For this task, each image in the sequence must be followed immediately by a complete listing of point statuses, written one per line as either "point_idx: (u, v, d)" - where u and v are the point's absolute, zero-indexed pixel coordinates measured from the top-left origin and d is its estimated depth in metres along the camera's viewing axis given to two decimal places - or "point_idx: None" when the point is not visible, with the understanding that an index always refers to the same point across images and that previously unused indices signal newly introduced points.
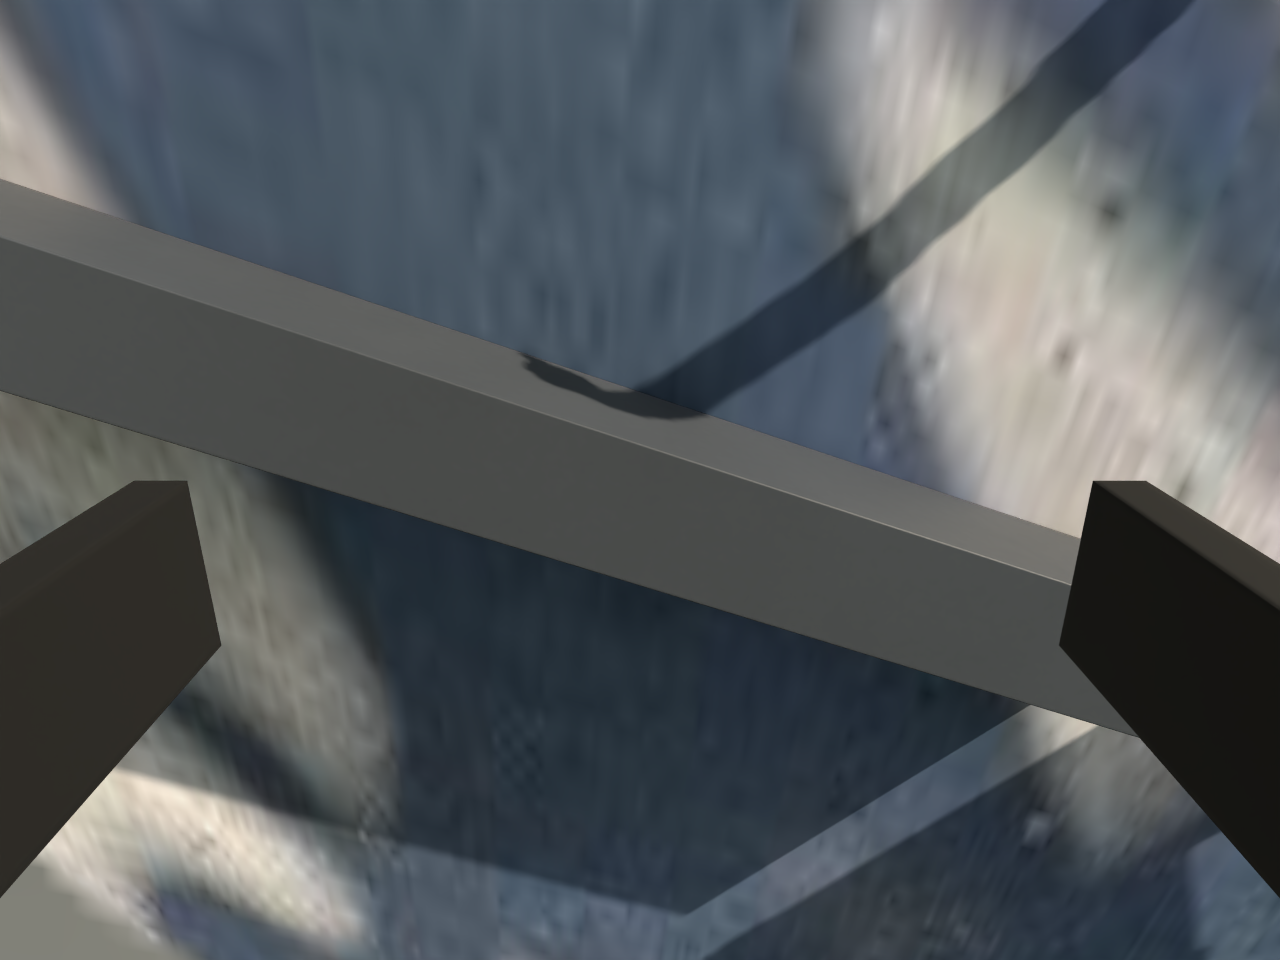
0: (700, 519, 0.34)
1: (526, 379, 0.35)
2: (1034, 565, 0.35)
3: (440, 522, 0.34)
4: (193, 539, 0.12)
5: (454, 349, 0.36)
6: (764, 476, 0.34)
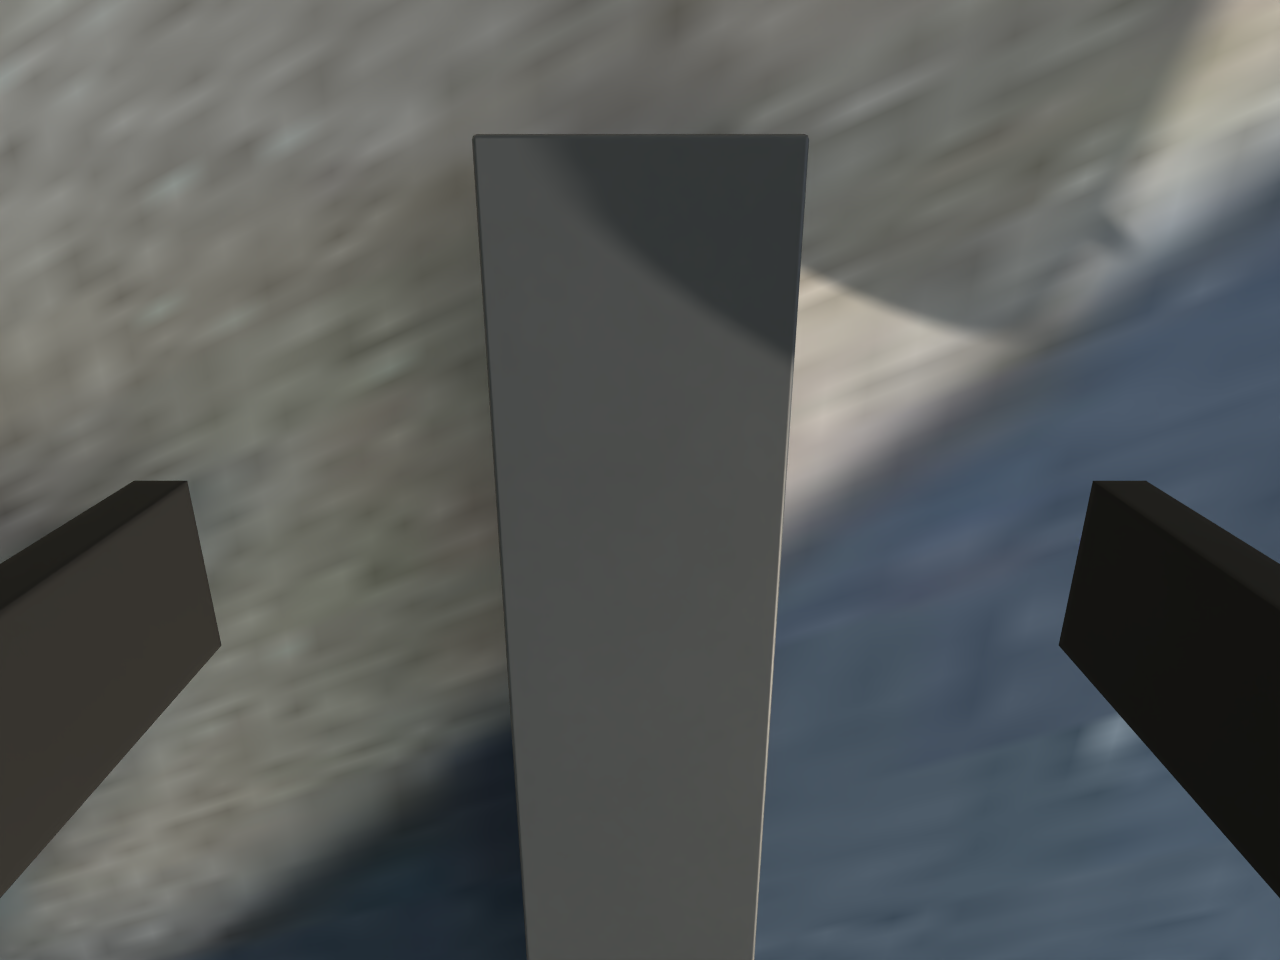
0: None
1: None
2: None
3: None
4: (192, 539, 0.12)
5: None
6: None
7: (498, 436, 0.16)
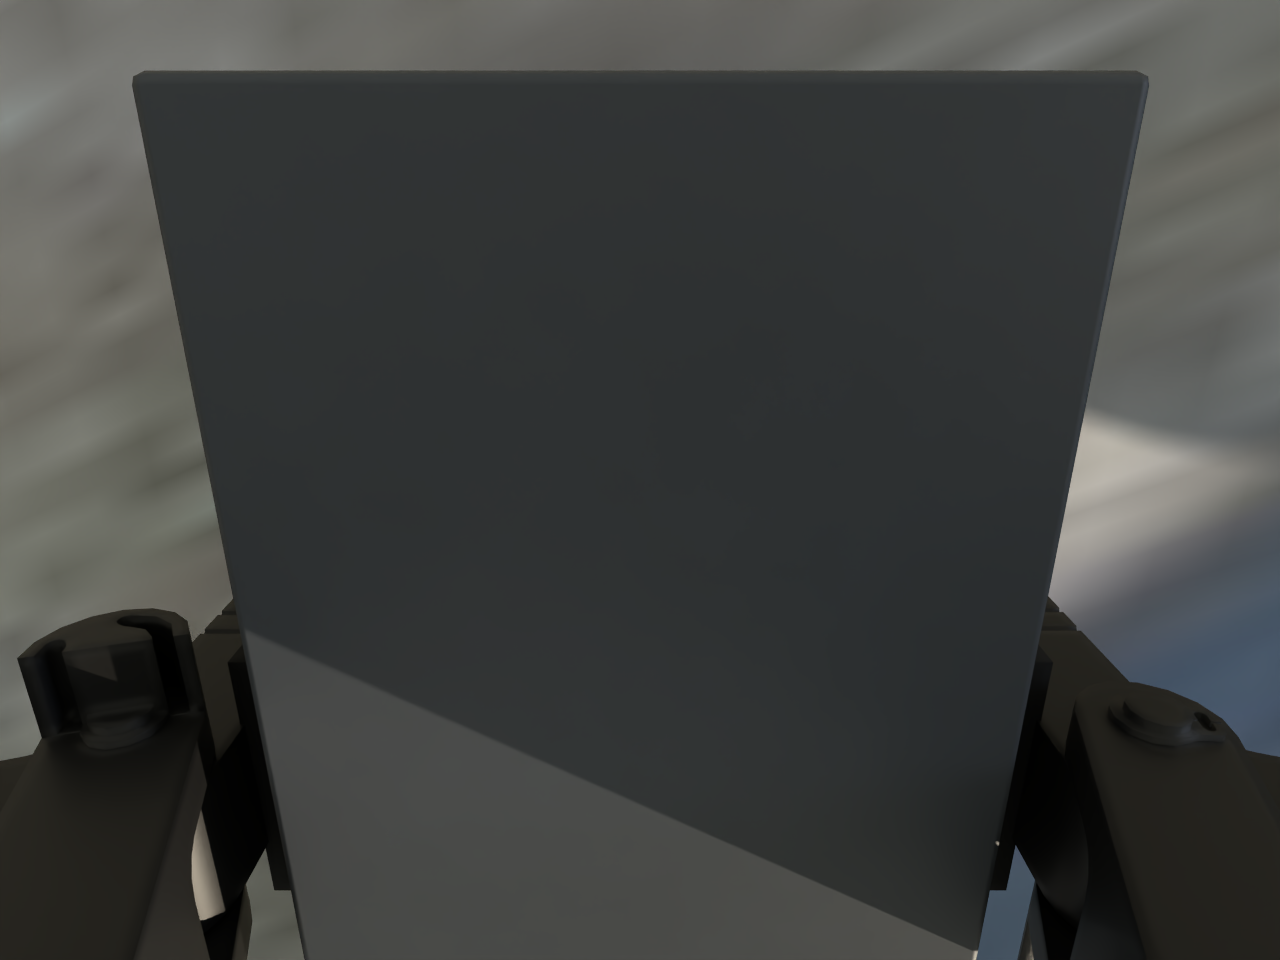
0: None
1: None
2: None
3: None
4: None
5: None
6: None
7: (291, 829, 0.07)
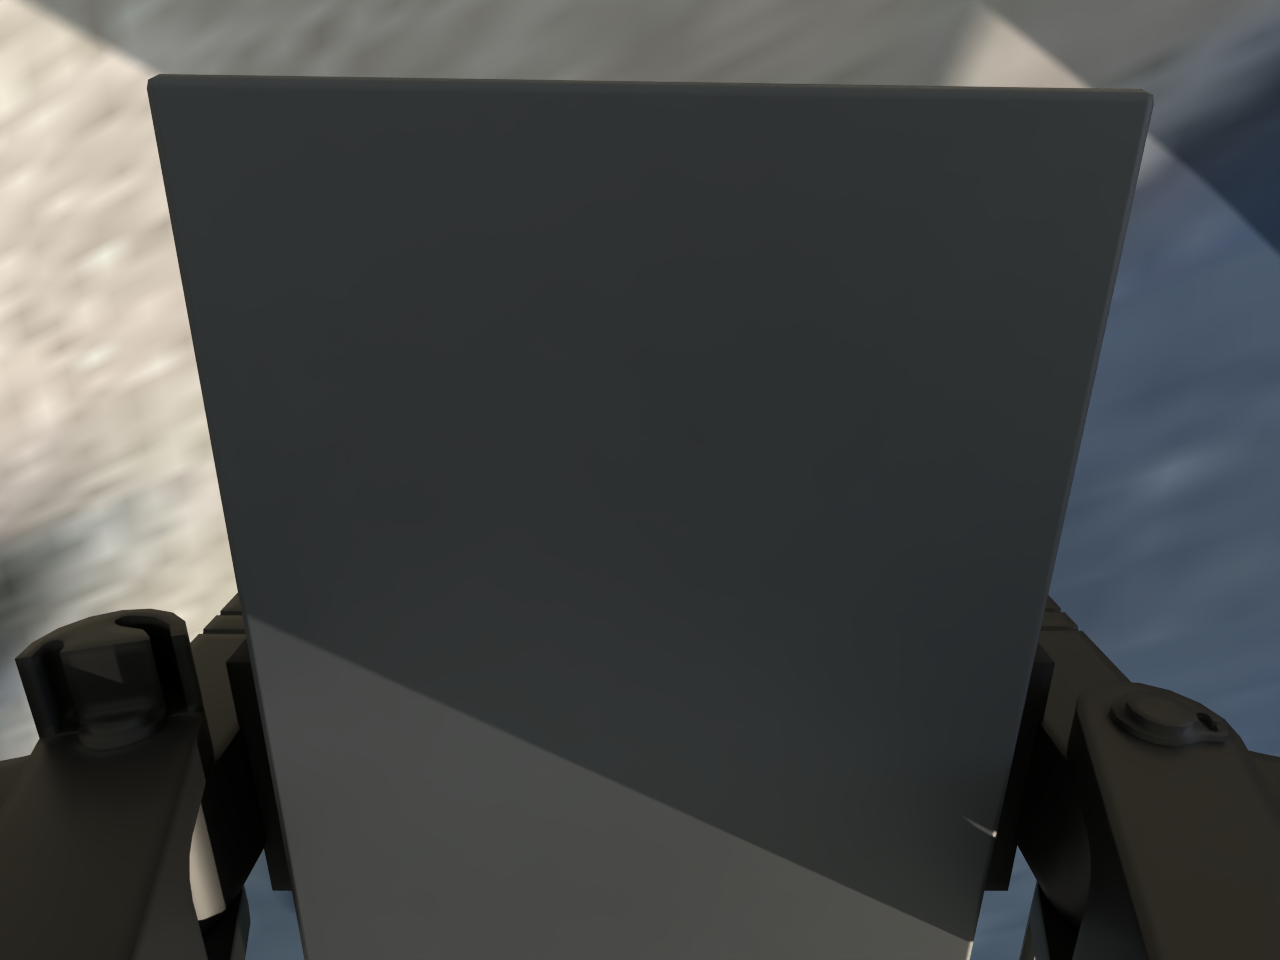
0: None
1: None
2: None
3: None
4: None
5: None
6: None
7: (292, 827, 0.07)
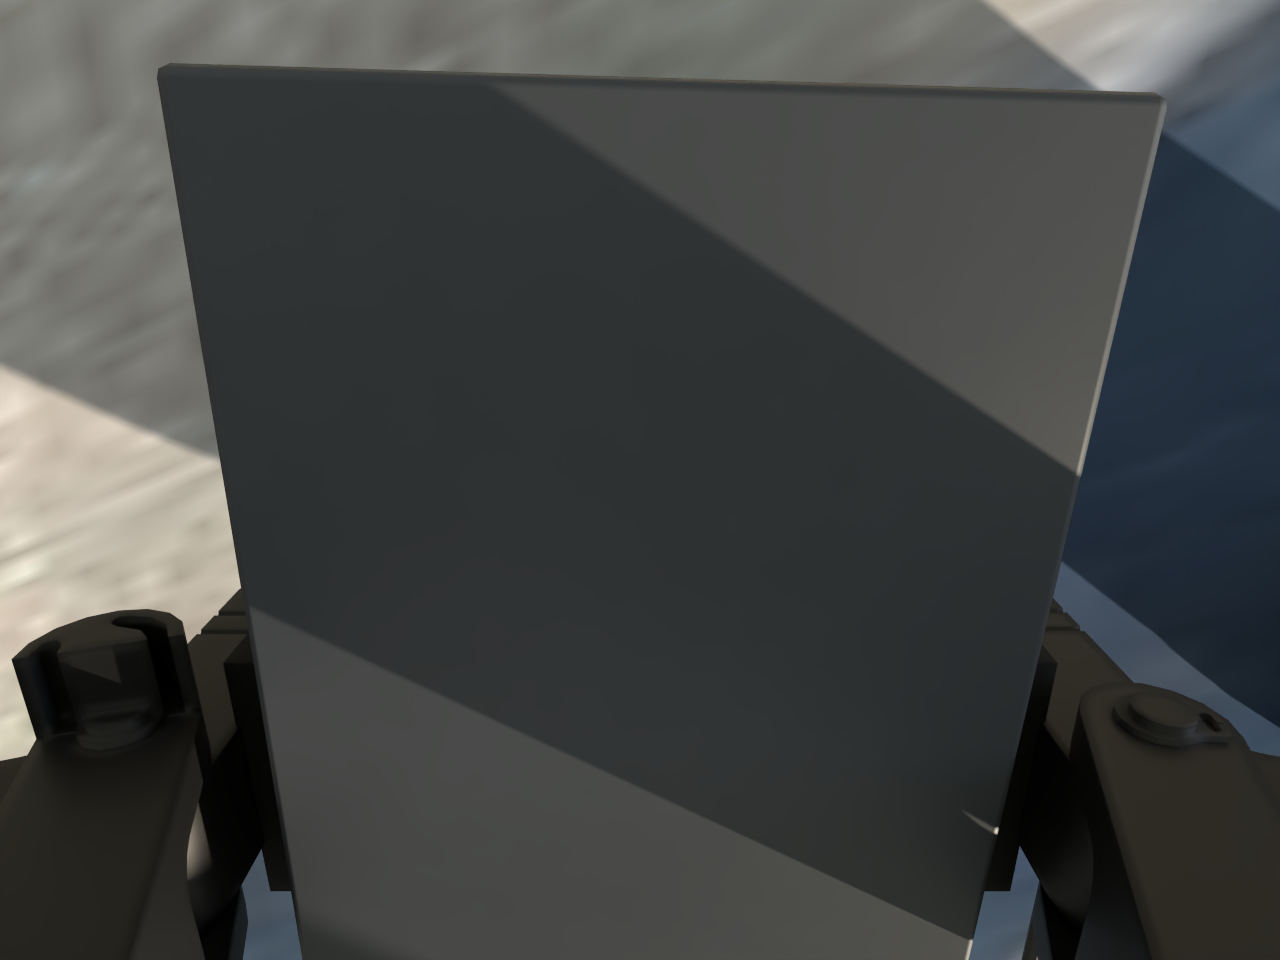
0: None
1: None
2: None
3: None
4: None
5: None
6: None
7: (292, 823, 0.07)
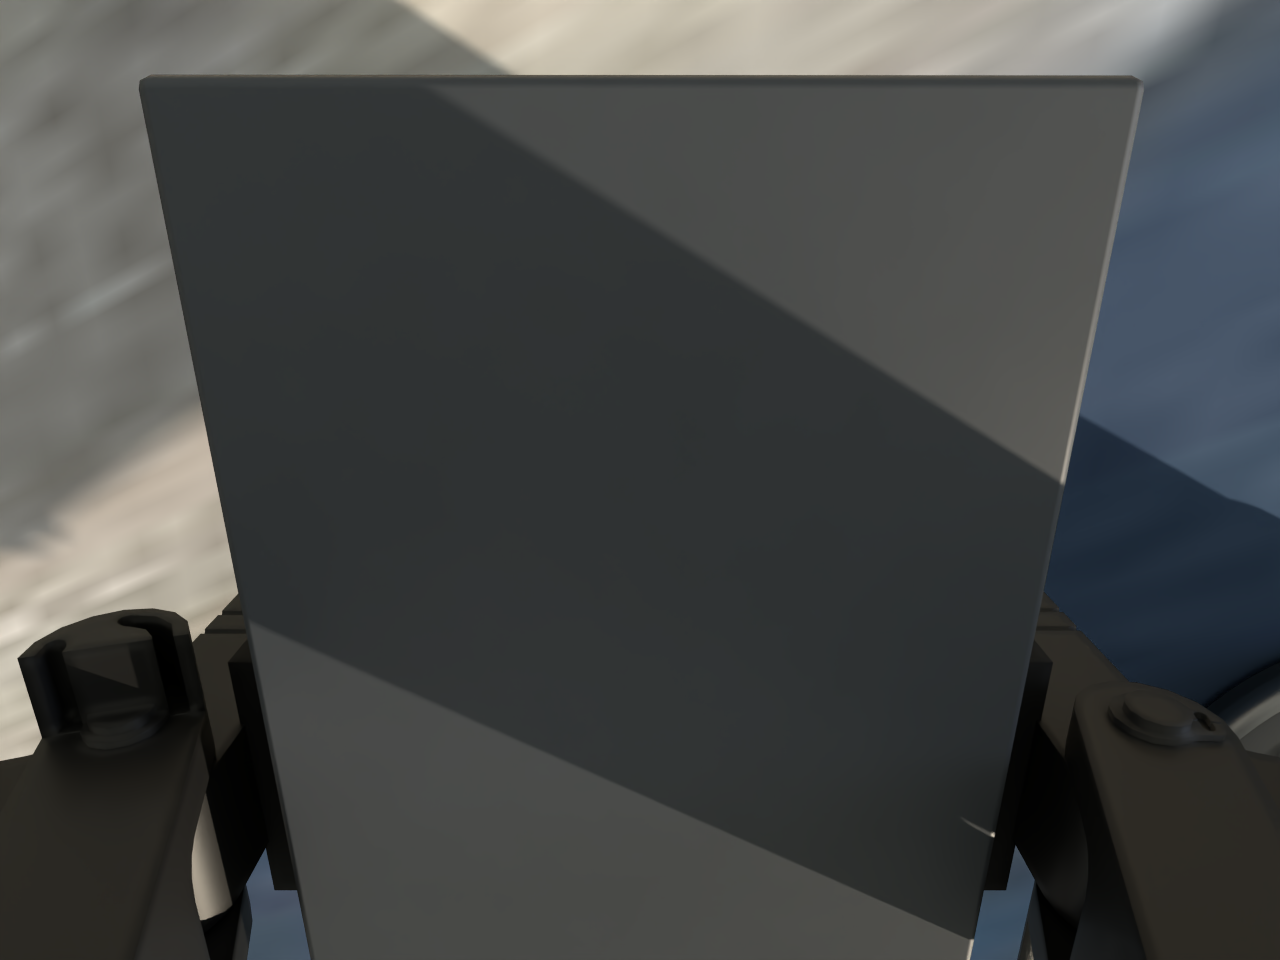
0: None
1: None
2: None
3: None
4: None
5: None
6: None
7: (295, 823, 0.07)
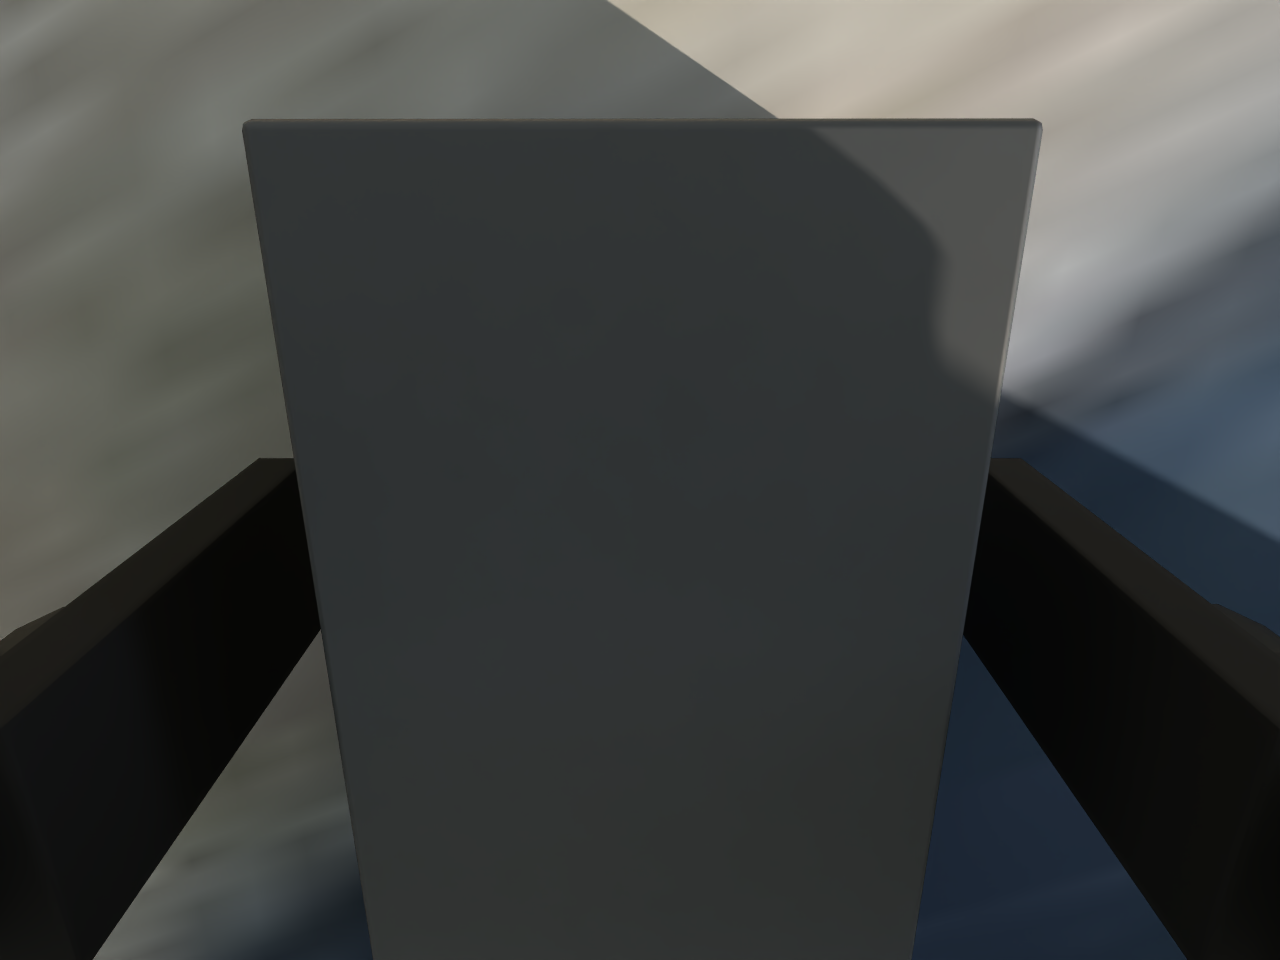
0: None
1: None
2: None
3: None
4: None
5: None
6: None
7: (349, 744, 0.08)
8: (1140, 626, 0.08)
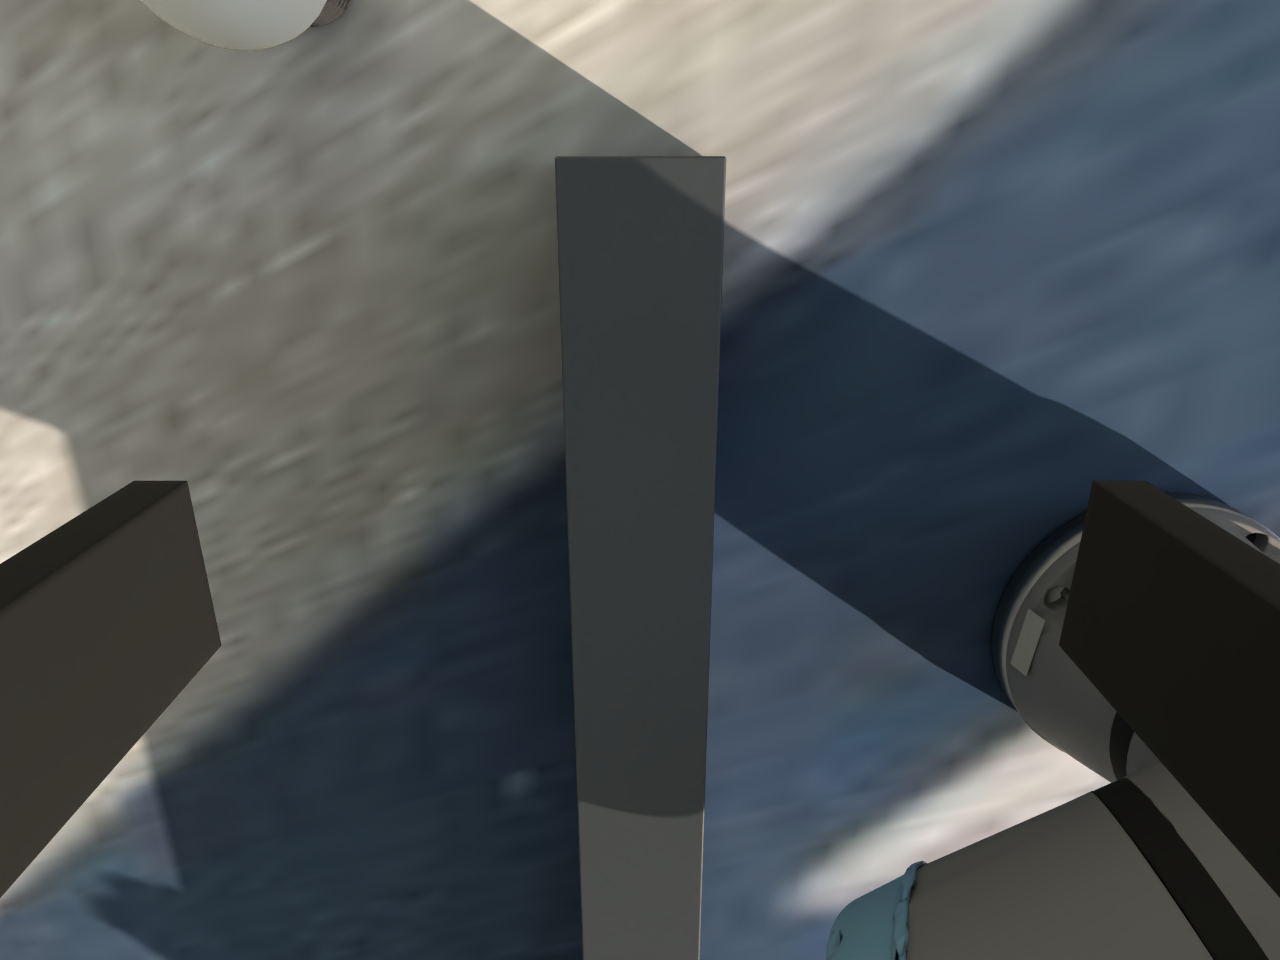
0: None
1: None
2: None
3: (581, 849, 0.39)
4: (193, 539, 0.12)
5: None
6: None
7: (563, 318, 0.31)
8: None
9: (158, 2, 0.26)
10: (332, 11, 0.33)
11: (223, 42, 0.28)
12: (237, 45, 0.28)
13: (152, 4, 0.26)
